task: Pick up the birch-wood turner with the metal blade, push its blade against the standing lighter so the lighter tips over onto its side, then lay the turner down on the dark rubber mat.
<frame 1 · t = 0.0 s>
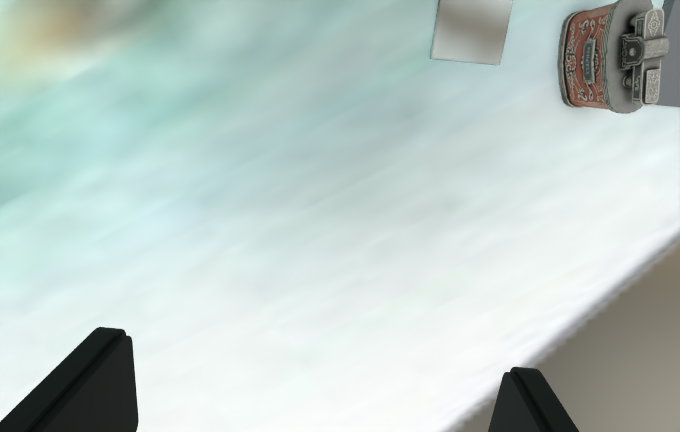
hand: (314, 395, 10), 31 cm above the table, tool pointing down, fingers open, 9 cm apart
lighter: (575, 61, 37), on the table
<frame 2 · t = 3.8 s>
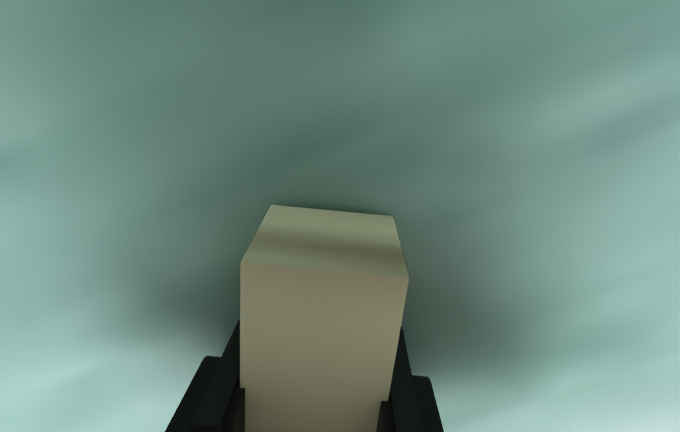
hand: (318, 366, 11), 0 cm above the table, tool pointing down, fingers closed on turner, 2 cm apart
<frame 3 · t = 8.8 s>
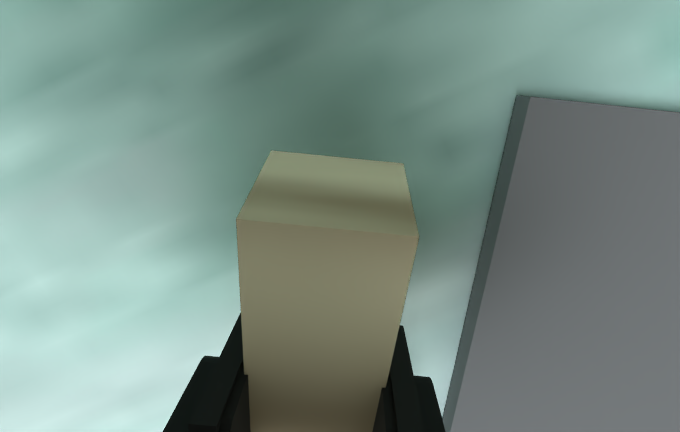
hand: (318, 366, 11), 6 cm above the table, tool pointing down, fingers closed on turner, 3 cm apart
turner: (317, 384, 13), point 4 cm above the table, tilted 12°, touching gripper, lighter
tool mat: (569, 365, 18), on the table
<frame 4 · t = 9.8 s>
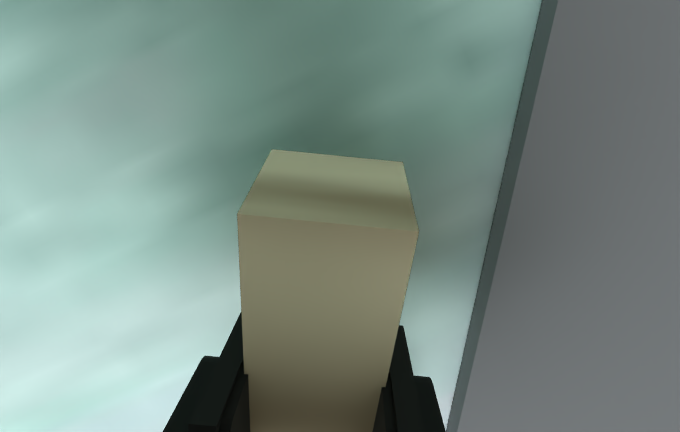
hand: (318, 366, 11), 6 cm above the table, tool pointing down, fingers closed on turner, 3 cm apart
turner: (316, 386, 13), point 4 cm above the table, tilted 12°, touching gripper, lighter
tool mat: (598, 304, 17), on the table
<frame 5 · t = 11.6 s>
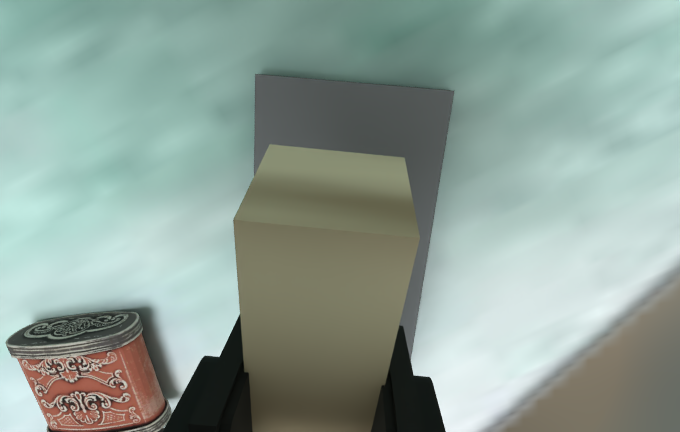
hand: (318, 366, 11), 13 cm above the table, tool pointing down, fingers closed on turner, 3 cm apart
lighter: (72, 325, 25), point 2 cm above the table
turner: (317, 374, 13), point 12 cm above the table, tilted 15°, touching gripper
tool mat: (338, 269, 25), on the table
when the fingers open (3 cm above the table, at t = 13.8 s): turner stays where it is, resting on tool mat.
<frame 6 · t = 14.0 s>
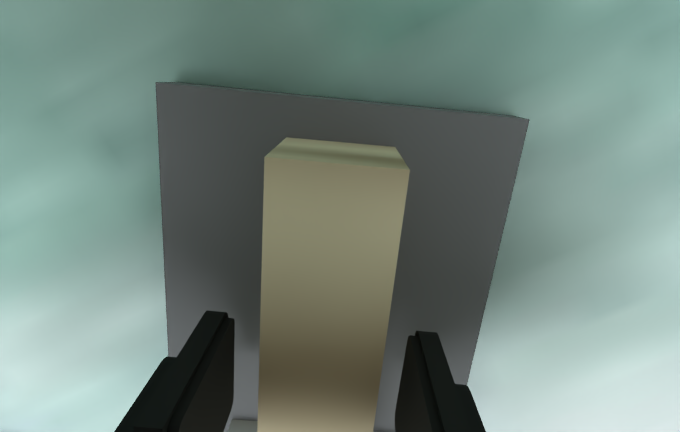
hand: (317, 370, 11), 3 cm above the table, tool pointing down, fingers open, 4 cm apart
turner: (320, 380, 14), point 1 cm above the table, touching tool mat
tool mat: (315, 398, 16), on the table
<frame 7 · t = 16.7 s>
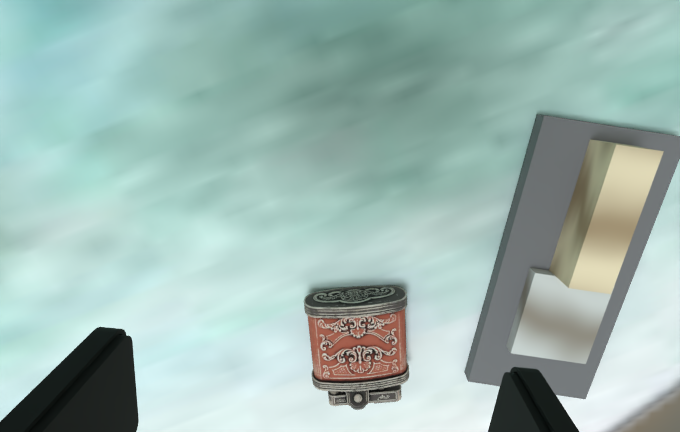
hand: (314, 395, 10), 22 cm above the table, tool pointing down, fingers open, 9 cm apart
lighter: (355, 294, 32), point 2 cm above the table
turner: (576, 248, 31), point 1 cm above the table, touching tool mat
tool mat: (559, 265, 32), on the table
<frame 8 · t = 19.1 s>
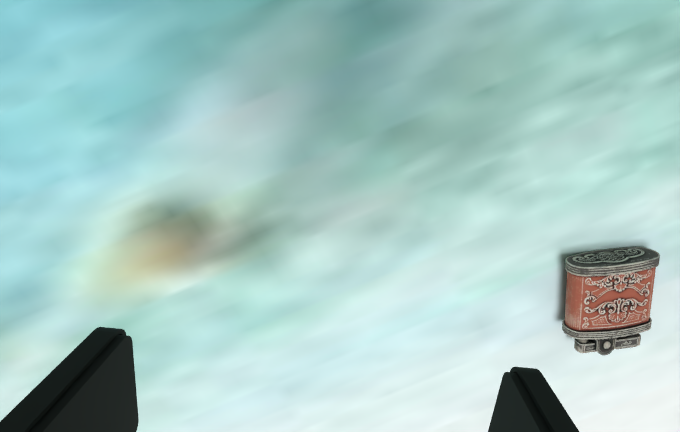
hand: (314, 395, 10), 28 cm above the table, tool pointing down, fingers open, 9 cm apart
lighter: (611, 255, 37), point 2 cm above the table
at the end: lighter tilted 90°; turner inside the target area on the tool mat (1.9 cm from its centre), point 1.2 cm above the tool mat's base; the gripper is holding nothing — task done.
